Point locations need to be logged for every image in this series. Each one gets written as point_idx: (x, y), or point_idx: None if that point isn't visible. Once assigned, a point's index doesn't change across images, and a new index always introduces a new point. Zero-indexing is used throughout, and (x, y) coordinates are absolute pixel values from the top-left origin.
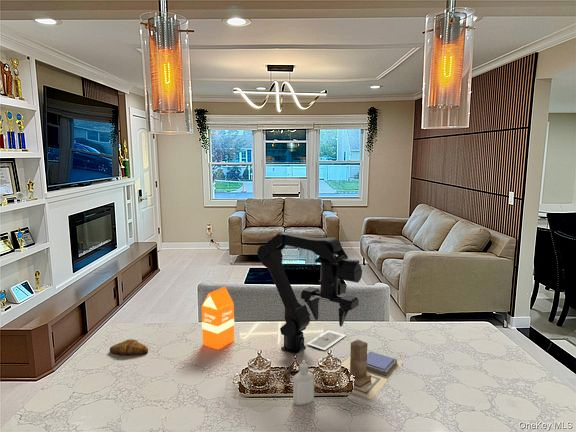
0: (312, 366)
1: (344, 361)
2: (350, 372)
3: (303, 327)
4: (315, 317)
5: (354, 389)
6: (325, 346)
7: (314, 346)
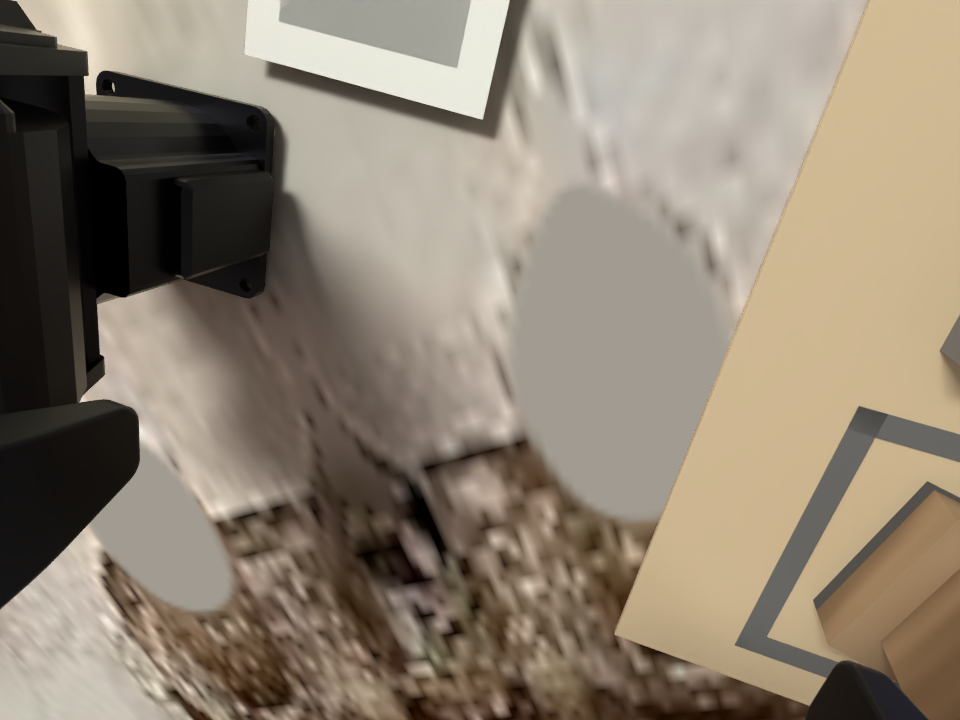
0: (474, 444)
1: (763, 275)
2: (893, 660)
3: (73, 297)
4: (66, 534)
5: None
6: (461, 13)
7: (347, 78)
